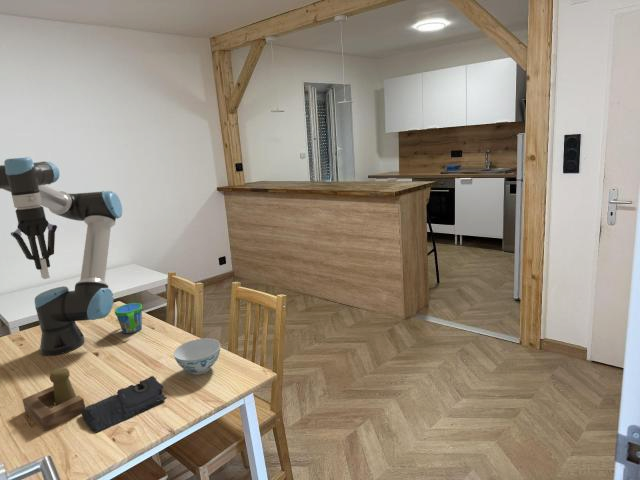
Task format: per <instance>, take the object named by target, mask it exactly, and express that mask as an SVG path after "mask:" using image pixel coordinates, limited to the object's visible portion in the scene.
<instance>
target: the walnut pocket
mask: <svg viewBox="0 0 640 480" xmlns="http://www.w3.org/2000/svg"><path fill="white" fill-rule="evenodd" d="M21 400H22V403H23V407H24V411H25V413H27V415H29V417H30V418H31V419H32V420H33V421H34V422H35V423H36V424H37V425H38V427H40V428H41V429H42V430H43V431H44V432H46V431H48V430H50V429H52V428H55V427H56V426H58V425H60V424H62V423H64V422H66V421H68V420H70V419H72V418H74V417H76V416H78V415H80V414H81V412H82V409H83V408H84V407H86V405H85V400H84V398H83V397H82V396H81V395H76V397H74V398H72V399H70V400H68V401H66V402H64V403H61V404H59V405H57V406H55V405H54V406H53V407H51V408H49V406H51V405H53V404H55V399H54V387H53V385H52V386H50V387H48V388H46V389H43V390H41V391H39V392H36V393H34V394H32V395H28V396H27V397H24V398H22V399H21Z"/></svg>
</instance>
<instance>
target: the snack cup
mask: <svg viewBox="0 0 640 480" xmlns="http://www.w3.org/2000/svg"><path fill="white" fill-rule="evenodd" d="M142 310H143V305H142V303H138V302H132V303H131V302H130V303H125V304H123V305H120V306H117V307H116V308H115V309H114V315H115V316H116V318H117V321H118V323H119V326H120V328H121V331H122V333H124V334H134V333H136V332H139V331H141V330H142V328H143V327H142V326H143V311H142Z"/></svg>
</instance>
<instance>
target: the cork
mask: <svg viewBox="0 0 640 480" xmlns="http://www.w3.org/2000/svg"><path fill="white" fill-rule="evenodd" d="M70 376H71V375H70V369H68V368H67V367H58V368H56V369H54V370H52V371H51V372H50V373H49V381H50V382H51V383H52V384H53V385H52V386H53V387H54V399H55V403H54V407H55V406H57V405H59V404H61V403H64V402H66V401H68V400H70V399H72V398H74V397H77V395H76V392H75V390H74V388H73V385H72V382H71V380H70Z"/></svg>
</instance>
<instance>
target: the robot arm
mask: <svg viewBox="0 0 640 480" xmlns="http://www.w3.org/2000/svg"><path fill="white" fill-rule="evenodd" d="M59 179H60V170H59V168H58V166H57V165H56V164H55V163H53V162H50V161H38V162H34V161H33V158H31V157H27V156H26V157H16V158H15V157H14V158H7V159H5V160H4V163H3V164H1V165H0V190H4V191H6V192H9V193H11V194H10V195H11V198H12V203H13V207H14V208H15V214H16V219H17V228H16V229H15V231H12V232H10V236H11V237H13V238H14V239H15V240H16V243H18V246H19V248H20V249H21V250H22V253H23V254H24V257H25V258H26V259H27V260H29V261H30V260H33V261H34V265H35V269H36V270H38V271H39V272H40V277H41V279H43V280H46V279H50V278H51V277H50V273H49V269H48V268H50V267H51V263H50V262H51V261H50V259H49V258H50V257H51V256H53V255H54V254H55V244H56V243H55V242H56V239H55V238H56V231H57V229H58V225H56V224H52V223H49V221H48V220H47V218H46V213H45V209H44V208H47V209H48V210H49V212H51V213H52V214H54V215H57V216H60V217H63V218H65V219H69V220H73V221H78V222H84V223H85V224H86V225H87V226H86V227H87V228H86V234H85V240H84V241H85V242H84V250H83V255H82V259H83V260H82V265H81V273H80V279H79V281H77V282H76V283H75V285H74V290H70V289H69V288H68V286H59V287H53V288H52V289H48V290H45V291H44V292H40V293H39V294H37V295H36V296H35V298H34V306H35V308H34V309H35V310H36V315H37V319H38V323H39V326H40V331H41V338H40V345H39V350H40V354H41V355H44V356H55V355H57V356H58V355H61V354H65V353H69V352H72V351H73V350H76V349H78V348H80V347H81V346H82V345H83V344H84V343H85V336H84V334H83V332H82V331H81V329H80V328H79V326H78V325H77V323H76V322H78V321H79V322H80V321H82V322H83V321H95V320H101V319H104V318H107V316H108V315H109V314H110V313H111V311H112V309H113V306H114V297H113V295H114V294H113V292H112V290H111V289H110V288H109V284H107V282H106V275H107V274H106V272H107V264H108V255H109V246H110V237H111V228H113V227H114V226H115V225H116V220H117V219H120V218H121V217H122V215H123V205H122V202H121V199H120V197H119V196H118V194H117V193H116V192H114V191H112V190H108V191H107V190H105V191H104V190H102V191H95V192H94V191H92V192H91V191H90V192H82V193H81V192H80V193H67V192H66V191H59V190H56V189H54V188H53V187H50V186H48V185H51V184H54V183H56V182H57V181H58V180H59ZM46 230H48V232H47V243H46V239H45V232H46ZM22 234H24V235H25V236H27V239H28V242H29V243H28V244H29V247H30V248H29V247H28V246H27V243H26V242H25V240H24V239H23V237H22ZM36 238H37V240H38V241H37V240H36ZM36 241H37V242H38V244H37V242H36ZM37 245H39V247H38V246H37ZM38 248H39V249H38ZM39 250H40V253H41V254H40V253H39ZM40 255H41V257H40Z"/></svg>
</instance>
